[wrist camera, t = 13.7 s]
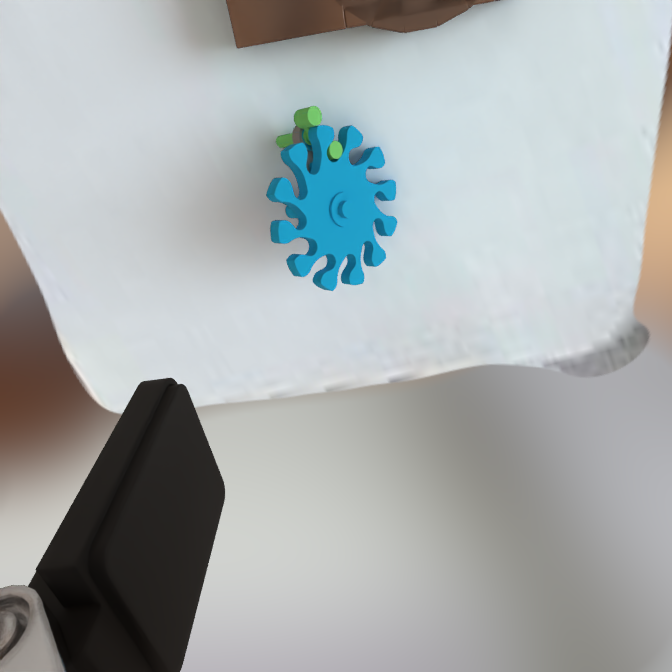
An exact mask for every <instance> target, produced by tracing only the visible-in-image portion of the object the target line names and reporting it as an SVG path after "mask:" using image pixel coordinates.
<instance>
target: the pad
mask: <svg viewBox="0 0 672 672" xmlns="http://www.w3.org/2000/svg"><path fill="white" fill-rule="evenodd" d="M493 1H499V0H226V2H227V6H228V11H229V15H230V20H231V24H232V28H233V33H234V37H235V42H236V46H237V48H243V47H249V46H254V45H260V44H265V43H270V42H276V41H281V40H287V39H292V38H298V37H303V36H308V35H314V34H319V33H325V32H330V31H336V30H341V29H345V28H352V27H357V26H363V25H368V26H371V27H373V28H378V29H384V30H389V31H395V32H400V33H403V32H404V33H407V32H413V31H418V30H424V29H429V28H435V27H437V26H440V25H442V24H444V23H445V22H447V21H449V20H451V19H452V18H454V17H456V16H458V15H460V14H461V13H463V12H465V11H467V10H468V9H469V8H471V7H472V6H473V5H477V4H482V3H488V2H493Z"/></svg>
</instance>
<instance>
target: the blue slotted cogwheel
mask: <svg viewBox="0 0 672 672" xmlns="http://www.w3.org/2000/svg"><path fill="white" fill-rule="evenodd" d="M321 120H322V114H321V111H320V110H319V108H318V107H316V106H312V107H308V108H304V109H300V110H297V111H296V112H295V114H294V122H295V124H296V126H295V128H294V129H293V133H291V134H286V135H281V136H278V137H277V139H276V143H277V145H278V146H279V147H280V148H283V147H286V148H285V149H284V150H282V151H281V158H282V160H283V162H284V163H285V164H286V165H288V166H289V167H290V169H291V170H292V171H293V173H294V175H295V177H296V179H297V183H298V187H299V196H298V198H296V197H295V195H294V192H293V188H292V185H291V183H290V181H289V180H288V179H286V178H274V179H273V180H272V182H271V183H270V185H269V188H268V191H267V194H266V195H267V197H268V199H269V200H271V201H273V202H280V203H283V204H285V205H287V206H286V214H287V216H288V217H289V218H298V220H299V223H298V226H297V228H295V227H294V226H293V225H292V224H291V223H290V222H289V221H286V220H275V221H272V222H271V229H270V232H271V240H272V242H274V243H282V244H286V243H289V242H290V241H292V240H293V239H295V238H298V237H300V238H304V239H306V240H307V241H308V243H309V251H308V252H307V254H305V255H301V254H292V255H290V256H289V257H288V258H287V260H286V261H287V265H288V267H289V269H290V271H291V272H292V274H293V275H294V276H300V277H304V276H306V275H307V274H308V273H309V272H310V270H311V268H312V266H313V264H314V263H315V262H316V261H317V260H318V259H319V258H320V257H322V256H324V255H326V257H327V265H326V267H325V268H324V269H322V270H320V271H318V272H316V273H315V275H314V277H313V283H314V284H315V285H316V286H318V287H320V288H322V289H324V290H330V291H333V290H334V289H335V288H336V285H337V276H338V271H339V268H340V265H341V263H342V262H343V260H344V259H345V257H346V256H347V259H348V263H347V265H346V267H345V269H344V270H343V272H342V274H341V281H342V283H344V284H350V285H358V284H362V283H363V282H364V273H363V271H362V267H361V250H362V246H363V244H364V245H365V251H364V257H363V258H364V263H365V264H366V265H367V266H374V267H376V266H378V265H380V264H381V263H382V262H383V261H384V260H385V258H386V254H385V251H384V250H383V249H382V248H381V247H380V246H379V245H378V243H377V242H376V239H375V236H374V232H373V222H375V226H376V231H377V233H378V234H379V235H381V236H392V234H393V233H394V231H395V228H396V225H397V220H396V218H395V217H393V216H386V215H384V214H383V213H382V212H381V211H380V210H379V209H378V208H377V206H376V205H375V202H374V196H375V195H376V196H377V198H378V199H379V200H381V201H390V200H394V199H395V196H396V183H395V181H393V180H385V181H380V182H378V183H377V184H373V183H371V182H369V181H368V180H367V179H366V169H367V168H368V169H376V168H382V167H383V166H384V164H385V159H384V156H383V153H382V151H381V149H380V147H372V148H367V149H366V150H365V151H364V153H363V155H362V157H361V158H360V160H359V161H358V162H357V163H355V164H353V165H352V164H351V163H350V161H349V152H350V150H351V149H353V148H356V147H359V146H360V145H361V143H362V141H363V136H362V134H361V133H360V132H359V131H358V130H357V129H356V128H355V127H353V126H352V125H351V126H346V127H342V128H341V129H340V131H339V134H338V141H333V139H334V130H333V128H332V127H330V126H326V125H320V126H317V125H319V124H320V123H321Z"/></svg>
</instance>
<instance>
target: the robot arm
mask: <svg viewBox="0 0 672 672" xmlns="http://www.w3.org/2000/svg"><path fill="white" fill-rule="evenodd" d="M224 499H225V486H224V482H223V479H222V476H221V474H220V471H219V469H218V466H217V464H216V461H215V459H214V456H213V453H212V451H211V448H210V446H209V443H208V441H207V438H206V436H205V433H204V431H203V428H202V425H201V423H200V420H199V418H198V415H197V413H196V410H195V408H194V405H193V403H192V400H191V397H190V395H189V392H188V390H187V388H186V386H185V385H183V384H177V382H176V381H175V380H174V379H172V378H166V379H158V380H150V381H143V382H141V383H140V384H139V385H138V387H137V389H136V391H135V392H134V394H133V396H132V398H131V400H130V401H129V403H128V405H127V407H126V409H125V410H124V412H123V414H122V416H121V418H120V419H119V421H118V423H117V425H116V426H115V428H114V430H113V432H112V434H111V436H110V438H109V439H108V441H107V443H106V444H105V447H104V448H103V450H102V452H101V453H100V455H99V457H98V459H97V461H96V462H95V464H94V466H93V468H92V469H91V471H90V473H89V475H88V477H87V479H86V480H85V482H84V484H83V486H82V487H81V489H80V491H79V493H78V495H77V496H76V498H75V500H74V502H73V504H72V505H71V507H70V509H69V511H68V513H67V514H66V516H65V518H64V520H63V521H62V523H61V525H60V527H59V529H58V530H57V532H56V534H55V536H54V538H53V539H52V541H51V543H50V545H49V547H48V548H47V550H46V552H45V554H44V555H43V557H42V559H41V561H40V563H39V564H38V566H37V568H36V573H35V575H34V577H33V578H32V580H31V582H30V584H29V585H28V587H27V586H25V585H11V586H7V587H4V588H0V672H180V670H181V668H182V665H183V661H184V657H185V653H186V649H187V645H188V641H189V638H190V633H191V629H192V625H193V622H194V618H195V613H196V610H197V606H198V602H199V598H200V594H201V590H202V587H203V583H204V578H205V575H206V571H207V567H208V563H209V559H210V555H211V551H212V547H213V543H214V539H215V535H216V531H217V528H218V524H219V519H220V516H221V512H222V507H223V504H224Z"/></svg>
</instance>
